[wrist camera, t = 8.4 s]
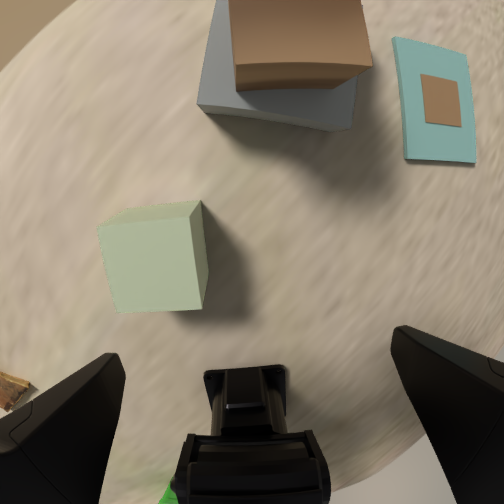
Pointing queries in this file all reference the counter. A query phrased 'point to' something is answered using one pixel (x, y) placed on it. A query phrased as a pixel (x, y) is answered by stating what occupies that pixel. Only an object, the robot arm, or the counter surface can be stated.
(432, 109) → the card
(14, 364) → the counter surface
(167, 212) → the sage cube
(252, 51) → the walnut cube
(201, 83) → the slate block
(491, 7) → the counter surface
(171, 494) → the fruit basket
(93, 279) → the counter surface
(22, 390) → the shard
